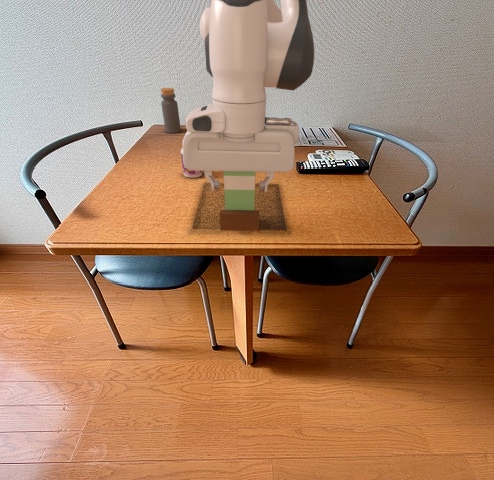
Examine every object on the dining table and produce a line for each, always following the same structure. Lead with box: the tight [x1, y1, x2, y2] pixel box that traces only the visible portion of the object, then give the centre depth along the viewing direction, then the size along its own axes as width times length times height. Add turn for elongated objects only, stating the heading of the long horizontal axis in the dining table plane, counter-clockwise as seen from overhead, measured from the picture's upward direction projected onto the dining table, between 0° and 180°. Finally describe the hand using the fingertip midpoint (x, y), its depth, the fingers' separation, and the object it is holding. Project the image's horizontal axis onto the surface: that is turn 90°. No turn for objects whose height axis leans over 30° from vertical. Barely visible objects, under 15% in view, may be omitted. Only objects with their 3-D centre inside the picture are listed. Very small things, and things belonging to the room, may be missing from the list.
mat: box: [191, 181, 287, 232], centre depth 68 cm, size 22×20×5 cm
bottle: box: [160, 87, 182, 134], centre depth 109 cm, size 6×6×15 cm
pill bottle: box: [180, 140, 203, 179], centre depth 79 cm, size 5×5×10 cm
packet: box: [222, 171, 256, 210], centre depth 58 cm, size 2×6×14 cm, turn 91°
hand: (239, 190), depth 57 cm, fingers open, 8 cm apart
